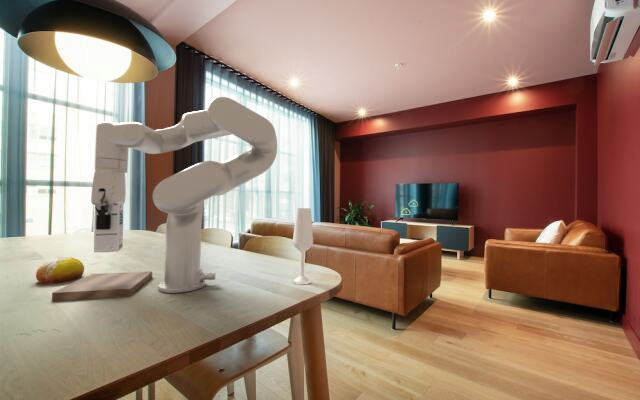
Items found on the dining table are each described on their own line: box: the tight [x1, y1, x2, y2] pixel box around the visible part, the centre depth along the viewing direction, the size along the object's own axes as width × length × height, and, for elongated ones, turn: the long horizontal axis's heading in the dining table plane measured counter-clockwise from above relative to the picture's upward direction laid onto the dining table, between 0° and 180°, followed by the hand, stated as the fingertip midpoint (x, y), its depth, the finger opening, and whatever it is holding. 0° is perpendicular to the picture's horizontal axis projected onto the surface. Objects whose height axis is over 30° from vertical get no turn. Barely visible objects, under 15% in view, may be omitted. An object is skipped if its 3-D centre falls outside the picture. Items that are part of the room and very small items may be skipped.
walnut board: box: [51, 271, 153, 302], centre depth 79 cm, size 17×18×2 cm
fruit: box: [35, 257, 85, 285], centre depth 86 cm, size 11×10×8 cm
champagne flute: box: [292, 207, 314, 282], centre depth 89 cm, size 7×7×24 cm
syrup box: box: [93, 201, 124, 253], centre depth 79 cm, size 6×6×14 cm
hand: (109, 227), depth 79 cm, fingers closed on syrup box, 6 cm apart
